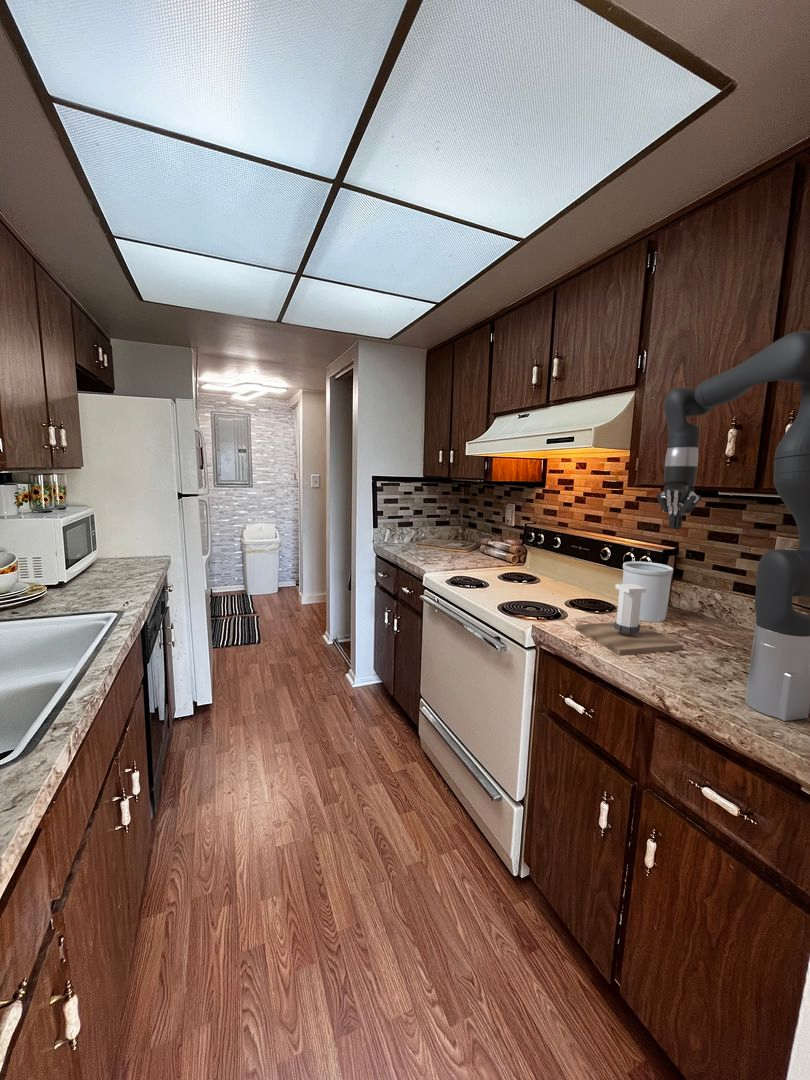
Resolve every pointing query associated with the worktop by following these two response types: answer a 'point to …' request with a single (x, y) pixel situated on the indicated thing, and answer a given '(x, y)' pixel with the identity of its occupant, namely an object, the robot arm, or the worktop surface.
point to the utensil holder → (650, 587)
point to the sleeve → (629, 604)
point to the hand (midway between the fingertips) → (674, 528)
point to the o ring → (627, 628)
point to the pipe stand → (628, 639)
